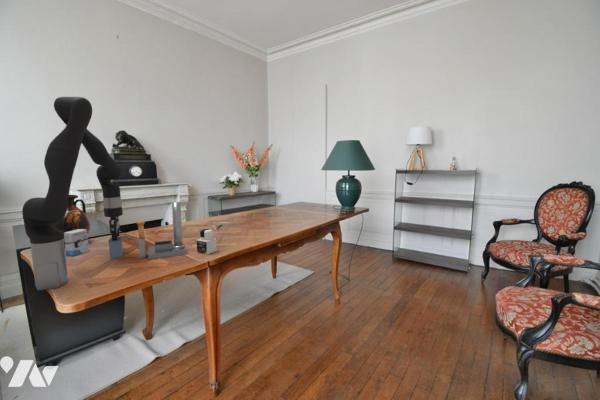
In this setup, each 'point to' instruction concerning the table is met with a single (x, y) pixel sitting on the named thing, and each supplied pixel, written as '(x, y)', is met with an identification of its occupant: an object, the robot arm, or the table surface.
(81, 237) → the ink box
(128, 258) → the table surface
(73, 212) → the amphora vase
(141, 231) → the wedge pin
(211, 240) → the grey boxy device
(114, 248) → the blue-grey rectangular block
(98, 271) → the table surface
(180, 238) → the grey base with post
